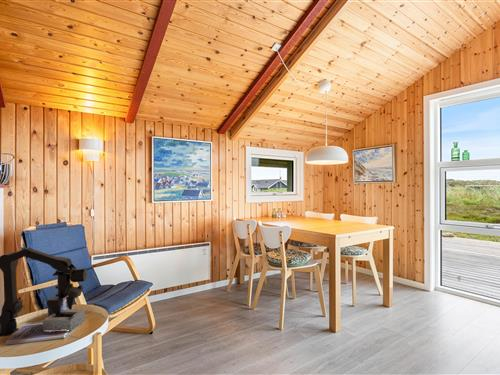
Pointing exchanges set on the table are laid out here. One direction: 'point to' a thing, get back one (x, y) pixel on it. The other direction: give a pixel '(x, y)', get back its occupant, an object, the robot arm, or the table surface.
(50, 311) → the small box
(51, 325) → the grey slotted block
